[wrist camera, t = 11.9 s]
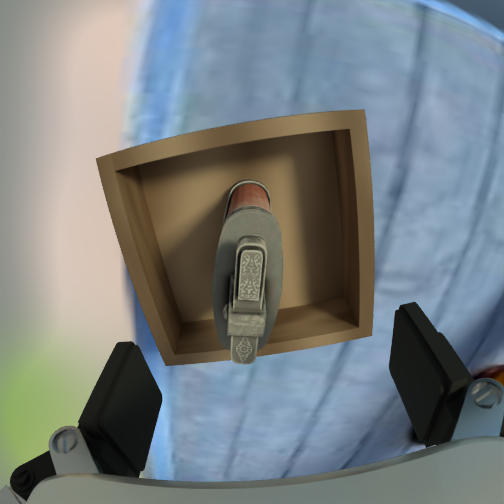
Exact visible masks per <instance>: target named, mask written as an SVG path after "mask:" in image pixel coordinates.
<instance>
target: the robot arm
mask: <svg viewBox="0 0 504 504" xmlns="http://www.w3.org/2000/svg"><path fill="white" fill-rule="evenodd" d="M389 370H390V373H391V376H392V378H393V380H394V382H395V385H396V387H397V389H398V392H399V394H400V396H401V399H402V401H403V403H404V406H405V408H406V411H407V413H408V415H409V418H410V420H411V423H412V425H413V428H414V430H415V433H416V435H417V438H418V440H419V441H420V442H421V441H424V444H425V446H426V448H425V449H422V450H419V451H416V452H412V453H409V454H405V455H402V456H398V457H394V458H391V459H387V460H383V461H379V462H375V463H370V464H366V465H362V466H357V467H353V468H348V469H342V470H337V471H332V472H326V473H319V474H313V475H306V476H298V477H290V478H280V479H269V480H256V481H235V482H190V481H169V480H156V479H144V478H139V475H140V471H143V470H144V468H145V465H146V461H147V457H148V453H149V449H150V445H151V441H152V438H153V434H154V430H155V426H156V422H157V419H158V415H159V411H160V408H161V404H162V394H161V391H160V389H159V387H158V385H157V383H156V381H155V379H154V377H153V375H152V373H151V371H150V369H149V367H148V365H147V363H146V361H145V359H144V357H143V354H142V352H141V350H140V348H139V346H138V345H135V344H134V343H133V342H131V341H130V342H118V343H117V344H116V346H115V348H114V349H113V351H112V353H111V355H110V357H109V359H108V361H107V363H106V365H105V367H104V369H103V371H102V373H101V375H100V377H99V379H98V381H97V383H96V385H95V387H94V389H93V391H92V393H91V396H90V398H89V400H88V402H87V404H86V406H85V408H84V410H83V413H82V415H81V417H80V419H79V421H78V422H79V426H78V427H77V428H76V427H74V426H65V427H62V428H60V429H58V430H57V431H55V432H54V434H52V436H51V438H50V440H49V451H47V452H45V453H44V454H42V455H40V456H38V457H36V458H34V459H32V460H30V461H28V462H27V463H25V464H23V465H21V466H19V467H18V468H16V469H15V471H14V472H13V473H12V475H11V478H10V484H11V486H10V487H9V486H7V485H6V486H5V487H3V488H2V489H1V490H0V504H504V387H503V386H502V385H501V384H500V383H499V382H497V381H496V380H493V379H489V378H482V379H478V380H476V381H474V379H473V378H472V376H471V375H470V373H469V372H468V370H467V369H466V367H465V366H464V364H463V363H462V361H461V360H460V358H459V357H458V355H457V354H456V352H455V351H454V349H453V348H452V346H451V345H450V344H449V342H448V341H447V339H446V338H445V336H444V335H443V334H442V333H440V332H437V330H436V329H435V328H434V326H433V325H432V323H431V322H430V321H429V319H428V318H427V316H426V315H425V314H424V312H423V311H422V310H421V308H420V307H419V306H418V304H417V303H416V302H412V303H408V304H403V305H400V307H399V310H396V311H395V317H394V328H393V337H392V346H391V354H390V361H389ZM433 445H436V446H433ZM430 446H433V447H430ZM427 447H429V448H427Z"/></svg>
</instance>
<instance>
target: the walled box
mask: <svg viewBox="0 0 504 504" xmlns="http://www.w3.org/2000/svg"><path fill="white" fill-rule="evenodd" d="M96 162H97V166H98V170H99V174H100V178H101V182H102V186H103V190H104V193H105V197H106V201H107V204H108V208H109V212H110V215H111V218H112V222H113V225H114V228H115V232H116V235H117V238H118V241H119V245H120V248H121V251H122V254H123V257H124V260H125V263H126V266H127V269H128V272H129V275H130V277H131V280H132V283H133V286H134V289H135V291H136V294H137V297H138V299H139V302H140V305H141V307H142V310H143V313H144V315H145V318H146V320H147V323H148V325H149V328H150V330H151V333H152V335H153V337H154V340H155V342H156V345H157V347H158V349H159V352H160V354H161V356H162V359H163V361H164V363H165V365H166V366H172V365H185V364H196V363H207V362H216V361H225V360H231V351H230V350H227V349H226V348H225V347H223V346H222V345H221V343H220V341H219V338H218V334H217V329H216V325H215V320H214V315H213V300H212V282H213V273H214V264H215V256H216V252H217V248H218V244H219V240H220V236H221V232H222V227H223V219H224V213H225V209H226V205H227V201H228V197H229V194H230V190H231V188H232V186H233V185H234V184H235V183H237V182H238V181H240V180H243V179H250V178H251V179H256V180H259V181H260V182H262V183H264V185H265V186H266V187H267V188H268V191H269V194H270V199H271V209H272V214H273V215H274V216H275V217H276V218H277V221H278V224H279V227H280V230H281V237H282V249H283V262H284V265H283V283H282V295H281V299H280V304H279V308H278V313H277V317H276V321H275V323H274V326H273V328H272V331H271V334H270V336H269V339H268V341H267V343H266V344H265V346H264V347H263V348H261V349H260V350H258V351H257V353H256V357H257V356H264V355H271V354H278V353H284V352H291V351H297V350H303V349H308V348H314V347H319V346H325V345H330V344H335V343H340V342H345V341H350V340H355V339H359V338H364V337H368V336H372V328H373V307H374V213H373V192H372V177H371V164H370V153H369V142H368V133H367V124H366V116H365V110H342V111H329V112H318V113H309V114H300V115H291V116H284V117H276V118H269V119H262V120H256V121H249V122H243V123H238V124H232V125H226V126H221V127H216V128H211V129H206V130H201V131H196V132H192V133H187V134H183V135H178V136H174V137H170V138H165V139H161V140H157V141H153V142H150V143H146V144H142V145H138V146H135V147H131V148H127V149H124V150H121V151H117V152H115V153H111V154H108V155H105V156H102V157H99V158H96Z"/></svg>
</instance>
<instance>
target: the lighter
mask: <svg viewBox="0 0 504 504" xmlns="http://www.w3.org/2000/svg"><path fill="white" fill-rule="evenodd" d="M283 265H284V262H283V249H282V237H281V230H280V227H279V224H278V221H277V218H276V217H275V216H274V215H273V214H272V209H271V199H270V194H269V191H268V188H267V187H266V186H265V185H264V183H262V182H260V181H259V180H256V179H251V178H250V179H243V180H240V181H238V182H237V183H235V184H234V185H233V186H232V188H231V190H230V194H229V197H228V201H227V205H226V209H225V213H224V219H223V227H222V232H221V236H220V240H219V244H218V248H217V252H216V256H215V264H214V273H213V282H212V300H213V315H214V320H215V325H216V329H217V334H218V338H219V341H220V343H221V345H222V346H223V347H225V348H226V349H227V350H230V351H231V360H232V361H233V362H234V363H238V364H250V363H253V362H254V361H255V359H256V353H257V351H258V350H260V349H261V348H263V347H264V346H265V344H266V343H267V341H268V339H269V336H270V334H271V331H272V328H273V326H274V323H275V321H276V317H277V313H278V308H279V304H280V299H281V295H282V283H283Z"/></svg>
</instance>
